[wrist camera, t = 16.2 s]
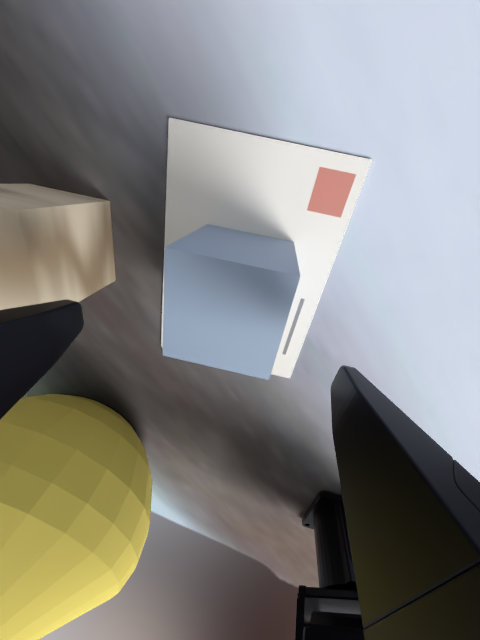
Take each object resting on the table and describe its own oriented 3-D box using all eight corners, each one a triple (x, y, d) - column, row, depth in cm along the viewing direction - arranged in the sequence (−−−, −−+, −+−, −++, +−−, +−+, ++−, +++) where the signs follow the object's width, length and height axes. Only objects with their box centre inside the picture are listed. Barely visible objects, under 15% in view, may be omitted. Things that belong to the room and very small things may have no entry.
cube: (273, 318, 17) (268, 380, 11) (199, 302, 17) (162, 355, 12) (293, 241, 14) (300, 275, 9) (207, 224, 14) (164, 247, 9)
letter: (289, 377, 19) (289, 378, 19) (161, 346, 19) (160, 347, 19) (371, 159, 12) (372, 159, 12) (169, 118, 12) (168, 117, 12)
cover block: (116, 280, 17) (43, 322, 12) (47, 264, 17) (-54, 299, 12) (110, 200, 15) (16, 210, 10) (30, 183, 15) (-105, 183, 10)
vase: (108, 495, 32) (-76, 827, 16) (-23, 404, 27) (-520, 767, 10) (215, 458, 25) (84, 997, 9) (66, 323, 20) (-1135, 1108, 3)
